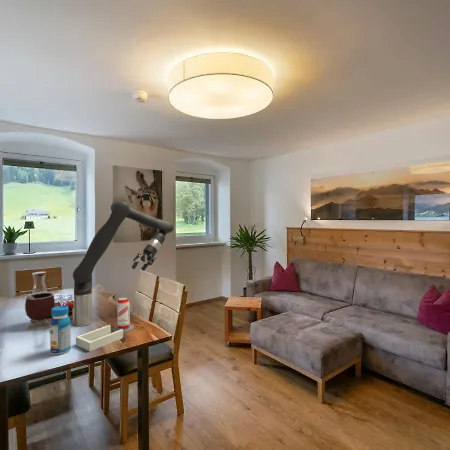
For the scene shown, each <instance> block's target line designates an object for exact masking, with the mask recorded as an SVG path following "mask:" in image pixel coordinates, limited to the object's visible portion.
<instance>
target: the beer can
mask: <svg viewBox="0 0 450 450" xmlns="http://www.w3.org/2000/svg"><path fill="white" fill-rule="evenodd" d="M116 307H117V308H116V310H117V311H116V313H117V326H118V328H119V329H127V328H128V327H129V326H130V324H131V323H130V322H131V320H130V316H131V315H130V314H131V313H130V300H129V297H127V296H126V297H123V296H122V297H119V298H118V299H117V303H116Z"/></svg>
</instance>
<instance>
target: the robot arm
mask: <svg viewBox="0 0 450 450" xmlns="http://www.w3.org/2000/svg"><path fill="white" fill-rule="evenodd" d="M110 211H111V213H110V215H109V217H108V219H107V221H106V222H104V224H103V225H102V226H101V227H100V228H99V229H98V231H97V232H96V234H95V235H94V236H93V238H92V240H91V242H90V244H89V246H88V248H87V250H86V253H85V255H84V257H83V259H82V260H81V261H80V263H79V264H78V265H77V266H76V267H75V269H74V270H73V272H72V279H73V282H74V284H73V307H72V325H73V326H75V327H85V326H89V325H92V324H93V291H92V289H93V272H94V269H95V267H96V266H97V264H98V262H99V260H100V259H101V258H102V257H103V256H104V254H105V252H106V251H107V249H108V248H109V246H110V244H111V242H112V240H113V239H114V238H115V235H116V233H117V232H118V229H119V228H120V226H121V224H122V223H123V222H124V221H125V219H126V218H127V219H130V220H133V221H135V222H137V223H139V224H140V225H143V226H146V227H148V228H150V229H152V230H156V232H155V234H154V235H153V236H152V238H151V239H150V240H149V241H148V242H147V244H146V245H145V247H144V248H143V251H142V253H140V252H139V253H137V255H136V256H135V257H134V258H133V260H132V261H133V264H132V266H131V269H132V270H135V269H136V268H137V266H138V265H139V264H140V263H143V265H142V267H141V271H142V272H143V271H144V272H145V271H146V269H147V268H148V267H149V266H152V265H153V264H154V262H155V260H156V258H157V257H156V255H157V253H158V252H159V250H160V248H161V246H162V245H163V243H164V241H165V240H166V236H167V234H169V233H170V234H171V233H172V232H173V231H174V225H173V223H172V222H170V221H168V220H165V219H160V218H157V217H155V216H153V215H150V214H148V213H145V212H142V211H140V210H137V209H134V208H132V207H131V206H130V205H129V204H128V203H127V202H125V201H122V200H115V201H114V202H112V204H111V205H110Z"/></svg>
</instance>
